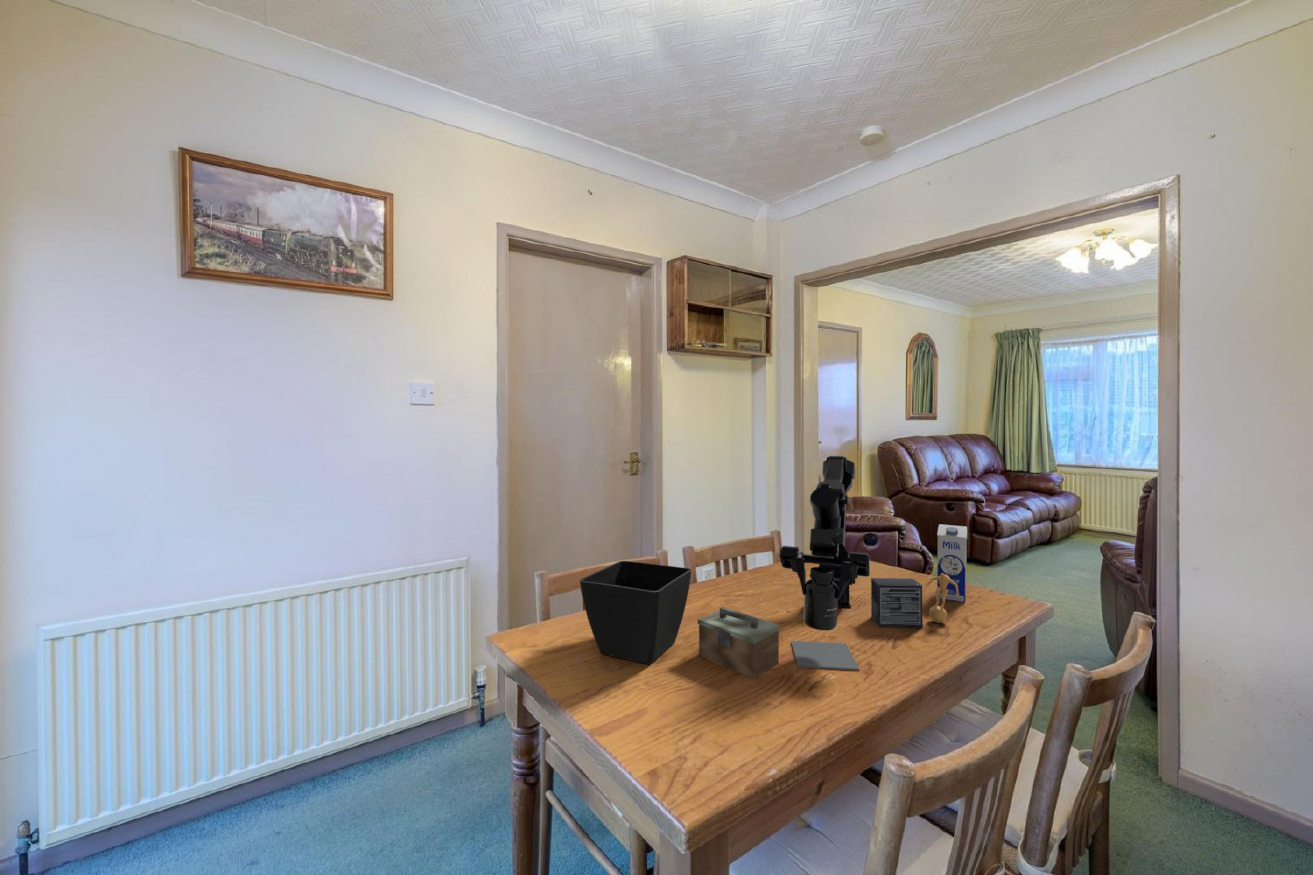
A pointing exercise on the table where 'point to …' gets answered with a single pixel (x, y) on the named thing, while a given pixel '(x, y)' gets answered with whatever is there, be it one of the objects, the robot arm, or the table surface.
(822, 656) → the mat
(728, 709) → the table surface
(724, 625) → the toolbox
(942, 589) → the figurine
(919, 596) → the small box
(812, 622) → the supplement bottle
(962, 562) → the milk carton
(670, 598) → the flower pot
